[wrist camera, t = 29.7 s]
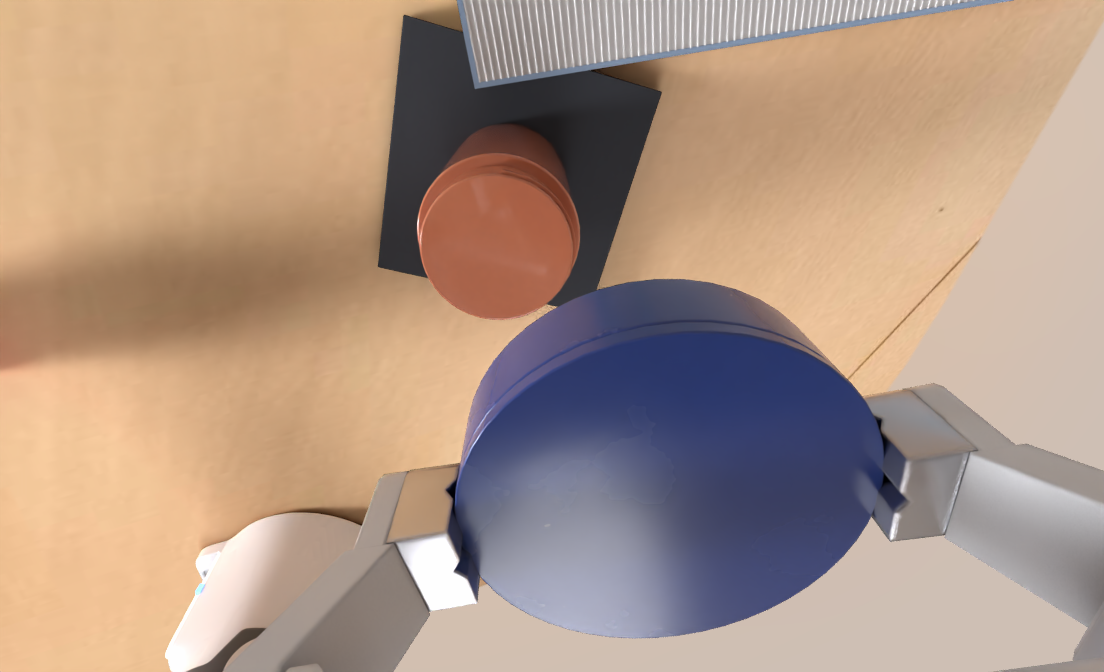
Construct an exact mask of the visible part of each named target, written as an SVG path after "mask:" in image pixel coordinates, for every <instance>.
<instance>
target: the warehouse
mask: <svg viewBox="0 0 1104 672" xmlns="http://www.w3.org/2000/svg"><path fill="white" fill-rule="evenodd" d="M1006 1H1012V0H457V5H458V9H459V14H460V19H461V24H462V29H463V34H464V39H465V43H466V48H467V53H468V58H469V63H470V68H471V72H472V77H473V82H474V87H475V89H478V88H483V87H490V86H496V85H502V84H508V83H514V82H520V81H526V80H532V79H538V78H544V77H550V76H556V75H562V74H569V73H575V72H581V71H587V70H593V69H599V68H605V67H611V66H617V65H623V64H629V63H635V62H641V61H648V60H654V59H660V58H666V57H672V56H678V55H684V54H690V53H696V52H702V51H708V50H714V49H720V48H727V47H733V46H739V45H745V44H751V43H757V42H763V41H769V40H775V39H781V38H787V37H793V36H799V35H806V34H812V33H818V32H824V31H830V30H836V29H842V28H848V27H854V26H860V25H866V24H872V23H878V22H885V21H891V20H897V19H903V18H909V17H915V16H921V15H927V14H933V13H939V12H945V11H951V10H957V9H964V8H970V7H976V6H982V5H988V4H994V3H1000V2H1006Z"/></svg>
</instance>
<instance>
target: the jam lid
mask: <svg viewBox="0 0 1104 672" xmlns="http://www.w3.org/2000/svg"><path fill="white" fill-rule="evenodd" d="M883 461H884V447H883V440H882V437H881V434H880V430H879V427H878V424H877V421H876V419H875V417H874V415H873V413H872V411H871V409H870V408H869V406H868V404H867V402H866V401H865V399H864V398H863V397H862V396H861V394H860V393H859V392H858V391H857V390H856V388H855V387H854V386H853V385H852V383H851V382H850V381H849V380H848V379H847V378H846V377H845V376H844V375H843V374H842V373H841V372H840V371H839V370H838V369H837V368H836V367H835V366H834V365H833V364H832V363H831V362H830V361H829V360H828V359H827V358H826V356H825V355H824V354H823V353H822V352H821V351H820V350H819V349H818V348H817V347H816V346H815V345H814V344H813V343H812V342H811V341H810V340H809V339H808V338H807V337H806V336H805V335H804V334H803V333H802V332H801V331H800V329H799V328H798V327H797V326H796V325H794V324H793V323H792V322H791V321H790V320H789V319H787V318H786V317H785V316H784V315H783V314H782V313H780V312H779V311H778V310H776V309H774V308H773V307H771V306H769V305H768V304H766V303H765V302H763V301H761V300H760V299H758V298H755V297H753V296H750V295H748V294H746V293H743V292H741V291H738V290H736V289H732V288H729V287H725V286H721V285H717V284H713V283H709V282H701V281H693V280H685V279H653V280H645V281H637V282H628V283H624V284H619V285H615V286H611V287H607V288H603V289H599V290H596V291H594V292H591V293H588V294H586V295H583V296H580V297H578V298H575V299H573V300H571V301H569V302H567V303H565V304H563V305H561V306H559V307H557V308H555V309H553V310H551V311H550V312H548V313H547V314H545V315H544V316H542V317H541V318H539V319H538V320H536V321H535V322H533V323H532V324H531V325H529V326H528V327H526V328H525V329H524V330H523V331H522V332H521V333H520V334H519V335H517V336H516V337H515V338H514V339H513V340H512V341H511V342H510V343H509V344H508V345H507V346H506V347H505V348H504V349H503V351H502V352H501V353H500V354H499V355H498V356H497V358H496V359H495V360H494V361H493V363H492V364H491V366H490V367H489V369H488V371H487V372H486V374H485V375H484V377H483V379H482V380H481V383H480V385H479V387H478V389H477V392H476V394H475V396H474V399H473V402H472V406H471V410H470V414H469V418H468V423H467V429H466V434H465V440H464V446H463V451H462V457H461V463H460V468H459V475H458V480H457V485H456V495H455V515H456V519H457V521H458V524H459V526H460V529H461V531H462V534H463V539H462V547H463V549H465V550H466V551H468V552H469V553H471V556H472V559H473V561H474V564H475V566H476V569H477V571H478V573H479V575H480V577H481V578H482V579H483V580H484V581H485V582H486V583H487V584H488V585H489V586H490V587H491V588H492V589H493V590H494V591H495V592H496V593H497V594H498V595H500V596H501V597H503V598H504V599H505V600H506V601H508V602H509V603H511V604H512V605H513V606H515V607H517V608H519V609H520V610H522V611H524V612H526V613H527V614H529V615H531V616H533V617H536V618H538V619H541V620H543V621H545V622H547V623H550V624H553V625H556V626H559V627H562V628H566V629H569V630H573V631H577V632H583V633H586V634H592V635H599V636H607V637H619V638H659V637H668V636H679V635H685V634H690V633H696V632H702V631H706V630H710V629H714V628H718V627H722V626H726V625H728V624H732V623H735V622H738V621H741V620H744V619H747V618H749V617H751V616H754V615H756V614H759V613H761V612H763V611H766V610H768V609H770V608H772V607H773V606H776V605H778V604H780V603H782V602H783V601H785V600H787V599H789V598H791V597H792V596H794V595H795V594H797V593H799V592H800V591H802V590H803V589H805V588H806V587H808V586H809V585H811V584H812V583H813V582H815V581H816V580H817V579H818V578H820V577H821V576H822V575H823V574H825V573H826V572H827V571H828V570H829V569H830V568H831V567H833V566H834V565H835V563H837V562H838V561H839V560H840V559H841V558H842V557H843V556H844V555H845V554H846V552H847V551H848V550H849V549H850V548H851V546H852V545H853V544H854V543H855V542H856V541H857V539H858V538H859V536H860V534H861V533H862V531H863V530H864V528H865V527H866V525H867V524H868V522H869V520H870V518H871V516H872V513H873V511H874V508H875V504H876V499H877V493H878V490H879V489H880V488H881V487H882V485H883V477H884V472H883V471H882V467H883Z"/></svg>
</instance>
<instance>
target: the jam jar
mask: <svg viewBox="0 0 1104 672" xmlns="http://www.w3.org/2000/svg"><path fill="white" fill-rule="evenodd" d="M417 237H418V243H419V248H420V255H421V260H422V264H423V267H424V270H425V272H426V274H427V276H428V278H429V280H430V282H431V283H432V285H433V286H434V288H435V289H436V290H437V291H438V292H439V293H440V295H441V296H442V297H443V298H445V299H446V300H447V301H448V302H449V303H451V304H452V305H453V306H455V307H456V308H458V309H460V310H462V311H464V312H466V313H468V314H471V315H473V316H477V317H480V318H485V319H492V320H505V319H513V318H518V317H522V316H525V315H528V314H530V313H532V312H534V311H536V310H538V309H540V308H541V307H543V306H544V305H545V304H547V303H548V302H549V301H550V300H551V299H552V298H553V297H554V296H555V295H556V294H557V293H558V292H560V290H561V288H562V287H563V285H564V283H565V282H566V280H567V278H568V277H569V276H570V273H571V270H572V268H573V266H574V263H575V261H576V258H577V254H578V250H579V244H580V225H579V220H578V215H577V211H576V208H575V205H574V201H573V198H572V194H571V191H570V187H569V184H568V180H567V177H566V174H565V170H564V167H563V164H562V161H561V159H560V157H559V155H558V153H557V152H556V150H555V149H554V147H553V146H552V145H551V144H550V143H549V142H548V141H547V140H546V139H545V138H544V137H543V136H541V135H540V134H539V133H537V132H536V131H534V130H532V129H530V128H527V127H524V126H521V125H517V124H509V123H502V124H494V125H490V126H487V127H484V128H482V129H480V130H478V131H476V132H474V133H473V134H472V135H470V136H469V137H468V138H467V139H466V140H465V141H464V142H463V143H462V144H461V146H460V147H459V148H458V150H457V151H456V152H455V154H454V155H453V156H452V158H451V159H450V160H449V162H448V163H447V164H446V166H445V167H444V169H443V170H442V171H441V173H440V174H439V175H438V177H437V178H436V179H435V181H434V182H433V183H432V185H431V186H430V187H429V189H428V191H427V192H426V194H425V196H424V198H423V201H422V203H421V206H420V210H419V214H418V220H417Z"/></svg>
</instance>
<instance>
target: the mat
mask: <svg viewBox="0 0 1104 672" xmlns="http://www.w3.org/2000/svg"><path fill="white" fill-rule="evenodd" d="M661 93H662V92H660V91H657V90H654V89H650V88H647V87H644V86H640V85H637V84H634V83H630V82H627V81H624V80H620V79H617V78H614V77H610V76H607V75H604V74H600V73H597V72H594V71H590V70H587V71H581V72H575V73H569V74H562V75H556V76H550V77H544V78H538V79H532V80H526V81H520V82H514V83H508V84H502V85H496V86H490V87H483V88H478V89H475V87H474V82H473V77H472V72H471V68H470V63H469V58H468V53H467V48H466V43H465V39H464V34H463V32H460V31H457V30H453V29H450V28H447V27H443V26H440V25H437V24H433V23H430V22H427V21H423V20H420V19H417V18H413V17H410V16H407V15H404V16H403V26H402V36H401V46H400V56H399V65H398V75H397V85H396V95H395V105H394V114H393V124H392V134H391V144H390V154H389V163H388V173H387V183H386V193H385V203H384V212H383V222H382V232H381V242H380V252H379V261H378V267H380V268H385V269H389V270H394V271H398V272H403V273H407V274H412V275H416V276H421V277H425V278H428V276H427V274H426V272H425V270H424V267H423V264H422V260H421V255H420V248H419V243H418V237H417V220H418V214H419V210H420V206H421V203H422V201H423V198H424V196H425V194H426V192H427V191H428V189H429V187H430V186H431V185H432V183H433V182H434V181H435V179H436V178H437V177H438V175H439V174H440V173H441V171H442V170H443V169H444V167H445V166H446V164H447V163H448V162H449V160H450V159H451V158H452V156H453V155H454V154H455V152H456V151H457V150H458V148H459V147H460V146H461V144H462V143H463V142H464V141H465V140H466V139H467V138H468V137H469V136H470V135H472V134H473V133H474V132H476V131H478V130H480V129H482V128H484V127H487V126H490V125H494V124H502V123H509V124H517V125H521V126H524V127H527V128H530V129H532V130H534V131H536V132H537V133H539V134H540V135H541V136H543V137H544V138H545V139H546V140H547V141H548V142H549V143H550V144H551V145H552V146H553V147H554V149H555V150H556V152H557V153H558V155H559V157H560V159H561V161H562V164H563V167H564V170H565V174H566V177H567V180H568V184H569V187H570V191H571V194H572V198H573V201H574V205H575V208H576V211H577V215H578V220H579V225H580V244H579V250H578V254H577V258H576V261H575V263H574V266H573V268H572V270H571V273H570V276H569V277H568V278H567V280H566V282H565V283H564V285H563V287H562V288H561V290H560V292H558V293H557V294H556V295H555V296H554V297H553V298H552V299H551V300H550V301H549V302H548V303H547V304H548V305H552V306H557V307H559V306H561V305H563V304H565V303H567V302H569V301H571V300H573V299H575V298H578V297H580V296H583V295H586V294H588V293H591V292H594V291H596V289H597V286H598V283H599V280H600V277H601V274H602V271H603V268H604V265H605V262H606V259H607V256H608V253H609V250H610V247H611V244H612V241H613V238H614V235H615V232H616V229H617V226H618V223H619V220H620V217H621V214H622V211H623V208H624V205H625V202H626V199H627V196H628V193H629V190H630V187H631V184H632V181H633V178H634V175H635V172H636V169H637V166H638V163H639V160H640V157H641V154H642V151H643V148H644V145H645V142H646V138H647V135H648V132H649V129H650V126H651V123H652V120H653V117H654V114H655V111H656V108H657V105H658V102H659V99H660V96H661Z"/></svg>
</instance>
